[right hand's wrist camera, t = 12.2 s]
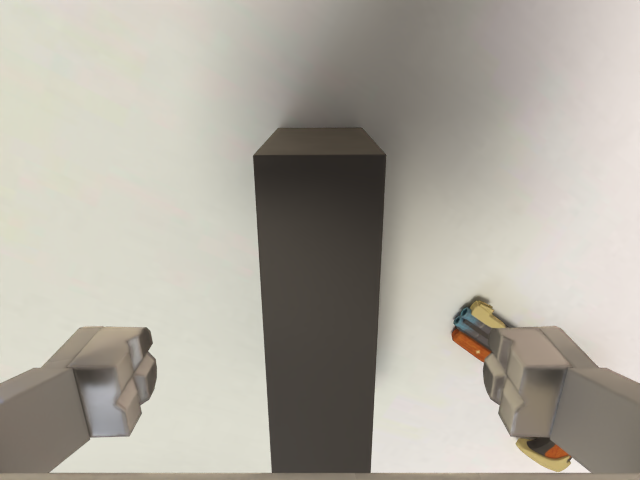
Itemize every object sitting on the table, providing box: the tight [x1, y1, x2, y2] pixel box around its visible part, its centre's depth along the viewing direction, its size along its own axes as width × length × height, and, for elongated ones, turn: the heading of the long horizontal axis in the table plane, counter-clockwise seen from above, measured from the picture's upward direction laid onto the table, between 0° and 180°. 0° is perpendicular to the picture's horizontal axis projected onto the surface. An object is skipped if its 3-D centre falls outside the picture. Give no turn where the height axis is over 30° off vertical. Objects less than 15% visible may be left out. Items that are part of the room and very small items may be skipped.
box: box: [253, 128, 386, 473], centre depth 30 cm, size 23×6×12 cm, turn 0°
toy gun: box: [452, 300, 572, 472], centre depth 39 cm, size 3×19×10 cm
